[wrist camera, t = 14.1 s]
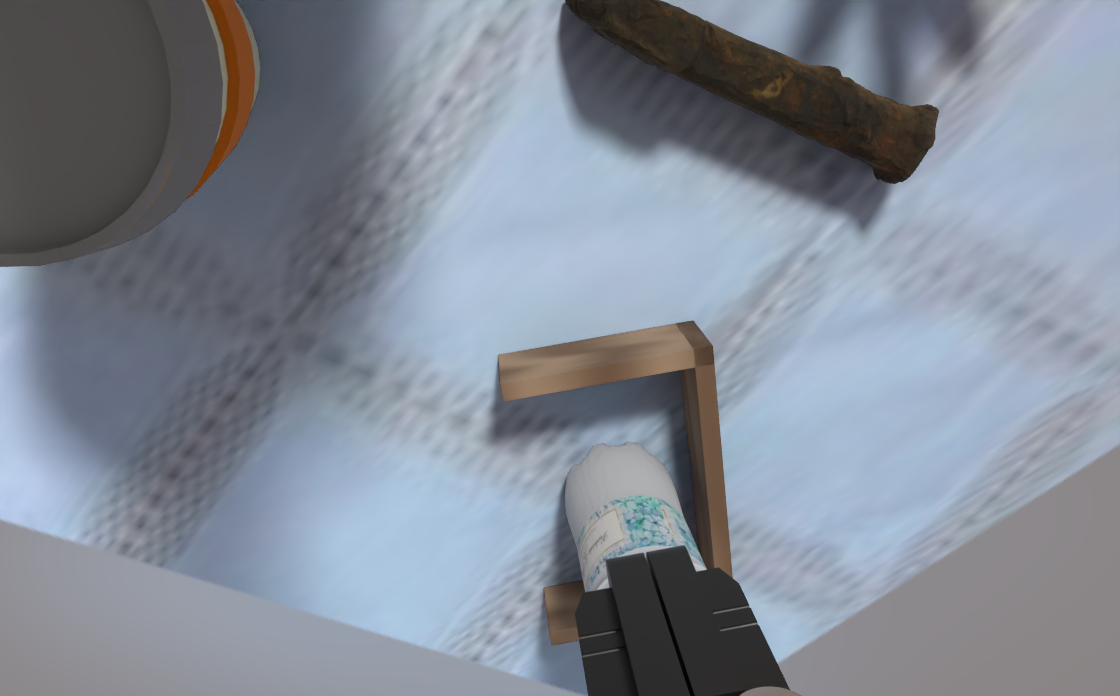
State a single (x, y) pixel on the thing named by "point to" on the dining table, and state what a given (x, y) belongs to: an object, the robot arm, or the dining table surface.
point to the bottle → (623, 509)
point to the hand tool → (770, 83)
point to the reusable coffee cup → (113, 116)
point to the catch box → (621, 362)
